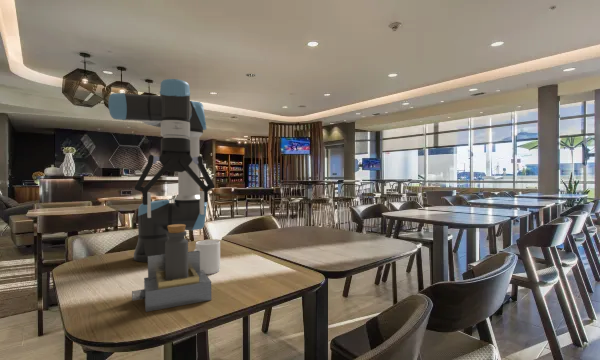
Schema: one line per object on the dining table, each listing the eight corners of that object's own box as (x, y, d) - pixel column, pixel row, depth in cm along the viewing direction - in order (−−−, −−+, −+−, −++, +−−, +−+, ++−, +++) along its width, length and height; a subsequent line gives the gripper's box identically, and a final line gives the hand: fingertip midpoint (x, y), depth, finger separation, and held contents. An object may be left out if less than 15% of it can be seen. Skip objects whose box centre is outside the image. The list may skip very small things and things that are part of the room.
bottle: (182, 275, 92) (182, 223, 92) (192, 279, 88) (191, 225, 88) (162, 279, 88) (161, 225, 88) (170, 284, 84) (170, 227, 84)
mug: (198, 279, 104) (198, 247, 104) (181, 275, 108) (181, 245, 108) (225, 270, 114) (225, 241, 114) (208, 266, 118) (208, 238, 118)
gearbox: (132, 297, 88) (131, 257, 88) (202, 286, 97) (202, 250, 97) (132, 314, 78) (131, 269, 78) (211, 300, 87) (211, 259, 86)
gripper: (123, 134, 78) (124, 220, 79) (224, 138, 90) (225, 214, 90) (124, 137, 85) (125, 216, 86) (218, 141, 97) (218, 211, 97)
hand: (176, 215), depth 88 cm, fingers open, 13 cm apart
